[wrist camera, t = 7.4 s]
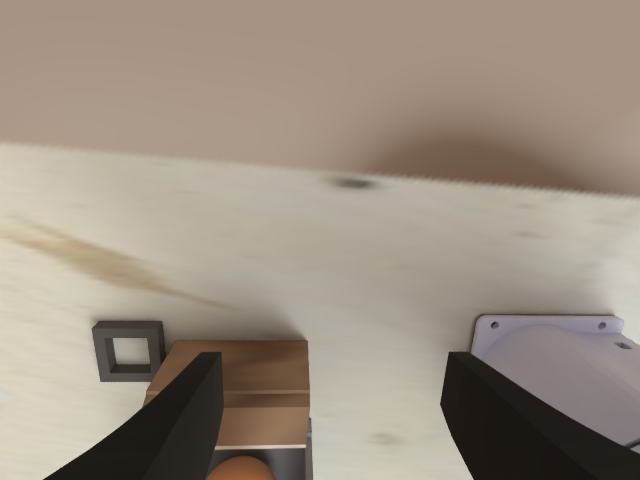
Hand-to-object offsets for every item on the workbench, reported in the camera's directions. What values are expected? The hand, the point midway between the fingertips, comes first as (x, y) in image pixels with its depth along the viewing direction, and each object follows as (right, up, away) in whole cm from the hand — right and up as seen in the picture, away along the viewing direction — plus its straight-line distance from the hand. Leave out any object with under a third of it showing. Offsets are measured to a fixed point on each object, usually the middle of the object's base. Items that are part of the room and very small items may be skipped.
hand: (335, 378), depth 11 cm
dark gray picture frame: (-12, -2, +10) cm, 16 cm away
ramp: (-5, -5, +11) cm, 14 cm away
